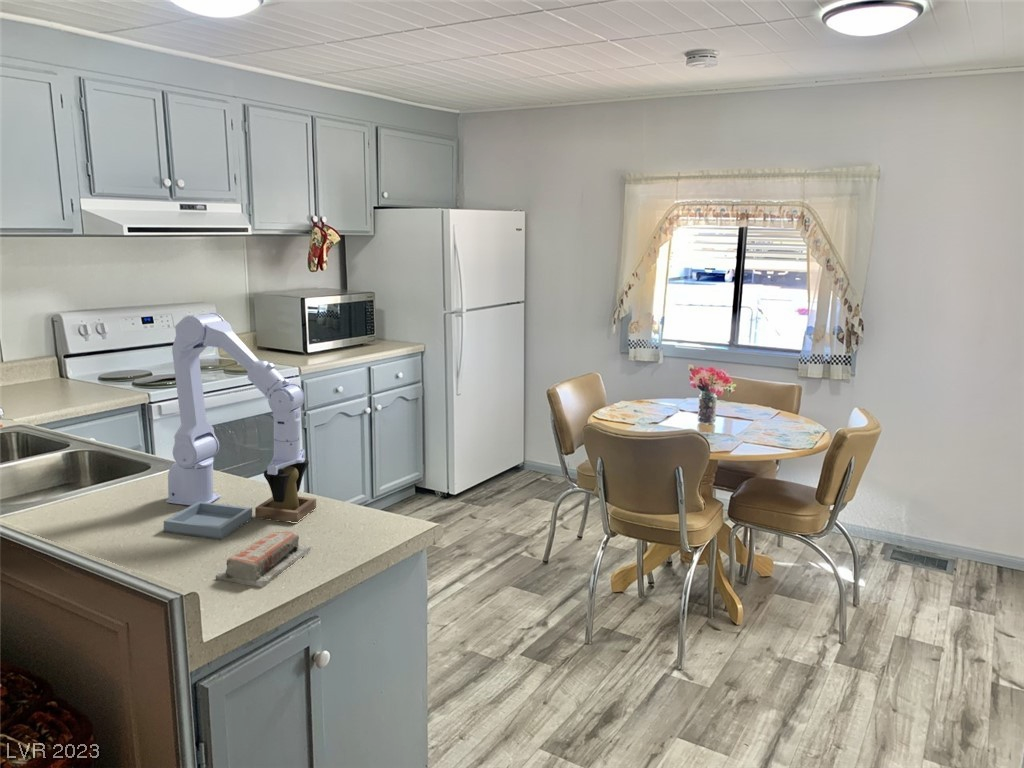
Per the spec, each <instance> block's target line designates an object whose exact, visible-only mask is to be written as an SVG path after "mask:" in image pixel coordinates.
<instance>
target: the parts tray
mask: <svg viewBox="0 0 1024 768" xmlns="http://www.w3.org/2000/svg"><path fill="white" fill-rule="evenodd" d="M250 519H251V520H252V519H253V507H246V506H240V505H239V506H238V505H229V504H222V503H216V502H215V503H213V502H211V503H208V502H200V501H199V502H197V503H195V504H193V505H191V506H190V505H189V506H188V507H186V508H185V509H183V510H181V511H178V512H177V513H175V514H174V515H172V516H170V517H168V518H166V519H165V520H163V532H164V533H166V532H167V534H173V533H174V534H173V535H180V534H181V536H188V537H197V538H203V539H212V540H219V541H221V540H223V539H225V538H226V537H227V536H229V535H230V534H232V533H233V532H235V531H237V530H238V529H239V528H241V527H242V526H243V524H244V525H245V524H246V522H247V521H248V522H249V520H250ZM251 520H250V521H251ZM248 522H247V523H248ZM241 525H242V526H241ZM240 526H241V527H240ZM238 527H239V528H238ZM237 528H238V529H237ZM234 530H235V531H234ZM231 532H232V533H231ZM228 534H229V535H228Z"/></svg>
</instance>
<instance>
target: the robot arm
mask: <svg viewBox="0 0 1024 768" xmlns="http://www.w3.org/2000/svg"><path fill="white" fill-rule="evenodd" d="M174 329H175V337H174V341H173V345H172V349H171V350H172V352H171V353H172V361H173V368H174V376H175V377H174V378H175V384H176V394H177V401H178V402H177V403H178V409H179V416H180V417H179V418H180V419H179V420H180V427H179V428H178V430H177V431H176V432H175V434H174V436H173V437H174V443H173V444H174V445H173V447H172V456H173V459H174V461H175V462H174V463H172V465H171V466H170V467H169V470H168V473H167V491H168V493H167V495H168V496H167V497H168V498H167V500H166V503H168V504H170V503H171V504H176V505H182V506H189V507H190V506H191V505H193V504H195V503H197V502H199V501H200V502H208V503H213V502H215V501H216V500H218V499H220V498H222V495H221V494H219V493H214V461H215V456H216V455H217V454H218V452H219V451H220V442H219V438H217V436H216V434H215V428H214V426H212V425H211V424H210V423H209V422H208V421H207V414H206V405H205V396H204V388H203V379H202V378H203V377H202V372H201V361H200V355H201V353H203V352H204V350H206V348H207V347H214V348H219V349H222V350H223V351H224V352H225V353H226V354H227V355H229V356H230V357H231V358H232V359H233V360H234V361H236V362H237V363H238V364H239V365H240V366H241V367H242V368H244V370H246V371H247V372H246V373H247V379H248V380H249V382H250V383H251V384H252V385H253V386H255V388H257V389H258V391H260V392H261V393H262V394H263V395H264V396H265V397H266V398H267V403H268V405H269V408H270V410H271V411H272V415H273V457H272V458H271V460H270V463H269V464H268V465H267V467H266V468H267V469H266V470H264V471H263V477H264V478H265V480H266V481H267V484H268V485H269V489H270V491H271V495H272V496H273V499H274V502H284V499H285V492H286V486H287V482H288V479H289V477H290V475H291V474H290V473H284V471H283V472H282V469H283V468H285V467H287V466H292V467H295V468H296V469H297V470H298V473H299V476H298V479H297V481H296V486H297V493H299V492H300V489H301V485H302V481H303V477H304V475H305V472H306V469H307V467H308V465H309V464H310V463H309V462H310V461H309V460H308V459H305V458H306V451H305V450H306V449H301V407H302V406H303V405H304V403H305V401H306V395H305V392H304V390H303V389H302V387H301V385H300V384H297V383H291V382H290V380H289V379H288V378H285V377H284V376H283V375H282V374H281V373H280V372H279V371H278V370H277V369H276V368H275V367H276V365H275V364H274V363H273V362H269V361H268V360H259V359H258V358H257V356H256V355H255V353H253V352H252V351H251V350H250V349H249V347H248V346H247V345H246V344H245V343H244V342H243V341H242V339H240V337H239V336H238V335H237V334H236V333H235V332H234V330H233V328H232V325H231V324H230V323H229V322H228V321H226V320H225V319H224V318H223V316H222V315H220V314H219V313H217V312H209V313H207V314H206V313H205V314H198V315H187V316H185V317H183V318H181V320H180V321H179V322H178V323H176V324H175V326H174ZM272 496H271V497H272Z"/></svg>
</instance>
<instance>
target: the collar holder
mask: <svg viewBox="0 0 1024 768" xmlns="http://www.w3.org/2000/svg"><path fill="white" fill-rule="evenodd" d="M298 501H299V508H297V509H296V510H295V511H294V510H286V509H278V508H274V499H273V496H271V497H269V498H267V499H266V500H265V501H264V502H262V503H260V504H258V505H257V506H256V507H255V512H254V513H255V519H257V518H263V519H262V520H265V519H271V520H270V521H273V520H279V521H278V522H280V521H291V522H298V521H299V520H300V519H302V518H303V517H304V516H306V515H307V514H308V513H310V512H311V511H312V510H314V509H315V508H316V509H317V498H312V497H304V496H298ZM314 511H315V510H314ZM310 514H311V513H310ZM306 517H307V516H306Z"/></svg>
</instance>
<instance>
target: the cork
mask: <svg viewBox="0 0 1024 768" xmlns="http://www.w3.org/2000/svg"><path fill="white" fill-rule="evenodd" d="M283 471H284V473H290V474H291V475H290V477H289V479H288V482H287V486H286V492H285V499H284V502H274V508H278V509H286V510H294V511H295V510H296V509H297V508H299V501H298V497H299V496H298V493H299V492H297V486H296V481H297V479H298V476H299V473H298V470H297V469H296V468H295V467H292V466H287V467H285V468H283V469H282V472H283Z"/></svg>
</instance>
